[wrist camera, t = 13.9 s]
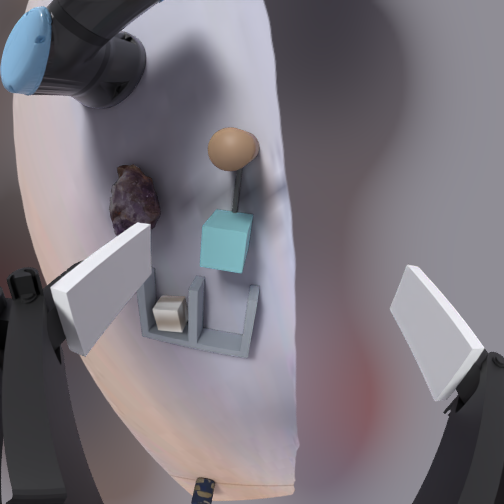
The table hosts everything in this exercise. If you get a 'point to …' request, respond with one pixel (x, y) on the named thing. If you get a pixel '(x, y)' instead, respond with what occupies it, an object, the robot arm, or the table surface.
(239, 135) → the block
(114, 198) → the rock
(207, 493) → the canister
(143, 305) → the lane rack
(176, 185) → the table surface
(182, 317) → the cream cube
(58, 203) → the table surface
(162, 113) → the table surface
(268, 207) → the table surface
